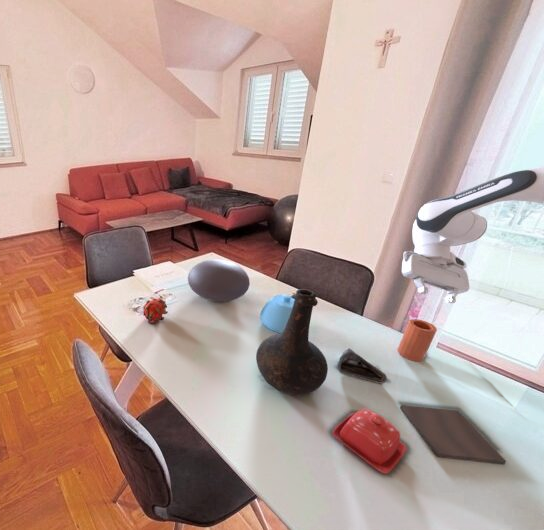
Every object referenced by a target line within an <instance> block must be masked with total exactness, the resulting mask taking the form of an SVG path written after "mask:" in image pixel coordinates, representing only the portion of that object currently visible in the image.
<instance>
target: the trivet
mask: <svg viewBox="0 0 544 530" xmlns="http://www.w3.org/2000/svg"><path fill="white" fill-rule="evenodd" d="M399 408H400V410H401V411H402V413H403V414H404V415H405V417H406V418H407V419H408V420H409V422H410V423H411V425H412V426H413V427H414V428H415V430H416V432H418V434H419V435H420V437H421V438H422V439H423V441H424V442H425V444H427V446H428V447H429V448H430V450H431V451H432V452H433V454H434V455H435V456H436V457H437V458H444V459H445V458H446V459H453V460H464V461H472V462H480V463H490V464H497V465H505V464H506V463H507V460H506V459H505V458H504V457H503V456H502V455H501V453H499V451H497V450H496V449H495V447H494V446H493V445H492V444H490V441H488V440H487V439H486V438H485V437H484V436H483V434H482V433H480V432H479V430H478V429H477V428H476V427H474V425H473V424H472V423H471V422H470V421H469V420H468V419H467V418H466V417H465V416H464V415H463V414H462V413H461V412H460V410H458V409H457V410H456V409H448V408H438V407H437V408H436V407H425V406H416V405H406V404H401V405H400V407H399Z"/></svg>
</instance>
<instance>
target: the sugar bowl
mask: <svg viewBox="0 0 544 530" xmlns="http://www.w3.org/2000/svg"><path fill="white" fill-rule="evenodd" d="M291 296H292V295H290V294H286V293H285V294H276V295H274V296H273V297H270V299H269V300H268V301H267V302H265V303H264V305H263V307H262V309H261V310H260V314H259V316H260V320H261V321H262V323H263V324H264V326H265V327H266V328H268V329H269V330H270V331H273V332H276V333H277V334H282V332H283V331H284V329H285V326H286V324H287V322H288V319H289V316H290V314H291V310H292V307H293V304H294V301H295V299H293V298H292V297H291Z"/></svg>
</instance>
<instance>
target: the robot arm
mask: <svg viewBox="0 0 544 530" xmlns="http://www.w3.org/2000/svg"><path fill="white" fill-rule="evenodd" d="M510 201H513V202H515V201H517V202H518V201H519V202H528V203H529V202H530V203H537V204H543V205H544V164H543V165H540V166H537V167H533V168H529V169H525V170H524V169H523V170H518V171H513V172H510V173H507V174H504V175H501V176H498V177H496V178H493V179H491V180H488V181H486V182H483V183H480V184H478V185H475V186H473V187H470V188H467V189H465V190H462V191H460V192H457V193H454V194H452V195H448V196H445V197H439V198H436V199H433V200H430V201H428V202H426V203H425V204H423V205H422V206H421V207H420V208H419V209H418V211H417V213H416V216H415V220H414V222H413V224H412V232H411V234H412V236H411V237H412V243H413V245H414V249H413V250H407V251H404V252H403V254H402V255H403V256H402V257H403V258H402V262H401V274H402V276H403V277H404V278H407V279H410V280H413V284H414V285H415V286H416V288H417V291H418V293H419V294H422V295H426V294H429V288H428V287H427V286H426V285H428V286H430V287H431V286H432V287H433V288H436V289H440V290H442V291H446V293H447V294H448V296H445V297H444V299H445V302H446V303H449V304H454V303H456V302H457V299H456V297H457V296H458V295H460V294H464V293H467V292H469V290H470V280H469V276H468V273H467V271H466V270H465V269H466V268H467V263H466V262H465V261H464V260H462V259H461V258H459V257H458V256H456V254H454V252H452V251H451V247H456V246H463V245H465V244H469V243H473V242H475V241H477V240H479V239H480V238H481V237H482V236H483V235H484V234H485V233H486V231H487V229H488V221H487V219H486V217H484V216H482V215H480V214H478V213H476V212H474V211H476V210H478V209H481V208H484V207H486V206H487V207H488V206H490V205H492V204H496V203H500V202H510Z"/></svg>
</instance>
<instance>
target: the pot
mask: <svg viewBox="0 0 544 530" xmlns="http://www.w3.org/2000/svg"><path fill="white" fill-rule="evenodd" d="M437 332H438V328H437V327H436V326H435V325H434V324H432V323H430V322H428V321H426V320H423V319H416V318H411V319H409V320H408V322H407V325H406V327H405V330H404V333H403V335H402V337H401V340H400V343H399V345H398V347H397V353H398V354H399V356H401V357H403V358H405V359H407V360H409V361H412V362H422V361H424V359H425V357H426V355H427V353H428V351H429V348H430V346H431V344H432V342H433V340H434V338H435V335H436V333H437Z"/></svg>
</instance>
